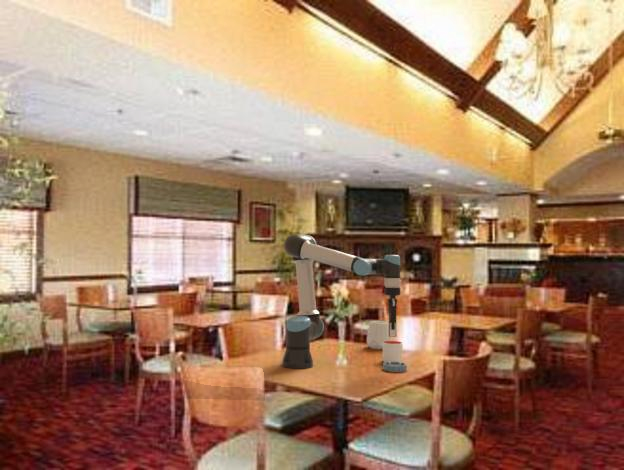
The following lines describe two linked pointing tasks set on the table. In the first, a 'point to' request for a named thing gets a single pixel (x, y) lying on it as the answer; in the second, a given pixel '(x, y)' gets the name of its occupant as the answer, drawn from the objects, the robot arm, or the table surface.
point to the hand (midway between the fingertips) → (392, 335)
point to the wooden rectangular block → (389, 327)
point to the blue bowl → (394, 366)
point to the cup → (392, 351)
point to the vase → (378, 334)
